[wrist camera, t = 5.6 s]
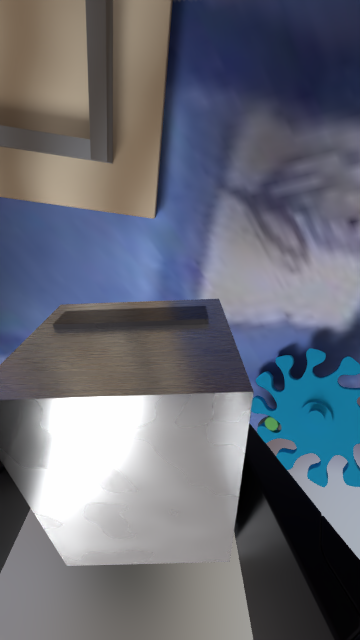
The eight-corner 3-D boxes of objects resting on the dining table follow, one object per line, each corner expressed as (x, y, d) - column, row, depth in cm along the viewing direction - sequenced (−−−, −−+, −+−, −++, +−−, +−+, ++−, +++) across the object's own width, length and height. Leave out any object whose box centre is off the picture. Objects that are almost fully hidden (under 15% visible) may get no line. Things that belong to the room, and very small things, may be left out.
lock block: (103, 447, 11) (68, 567, 8) (60, 300, 8) (-41, 394, 4) (213, 444, 11) (229, 563, 8) (219, 294, 8) (254, 385, 4)
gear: (344, 324, 17) (452, 474, 14) (342, 328, 22) (421, 439, 19) (217, 385, 22) (276, 509, 19) (239, 377, 27) (288, 474, 24)
